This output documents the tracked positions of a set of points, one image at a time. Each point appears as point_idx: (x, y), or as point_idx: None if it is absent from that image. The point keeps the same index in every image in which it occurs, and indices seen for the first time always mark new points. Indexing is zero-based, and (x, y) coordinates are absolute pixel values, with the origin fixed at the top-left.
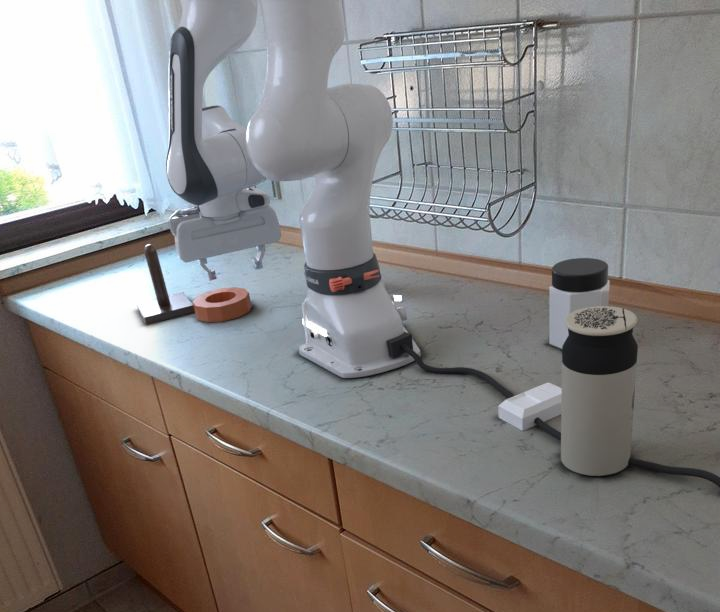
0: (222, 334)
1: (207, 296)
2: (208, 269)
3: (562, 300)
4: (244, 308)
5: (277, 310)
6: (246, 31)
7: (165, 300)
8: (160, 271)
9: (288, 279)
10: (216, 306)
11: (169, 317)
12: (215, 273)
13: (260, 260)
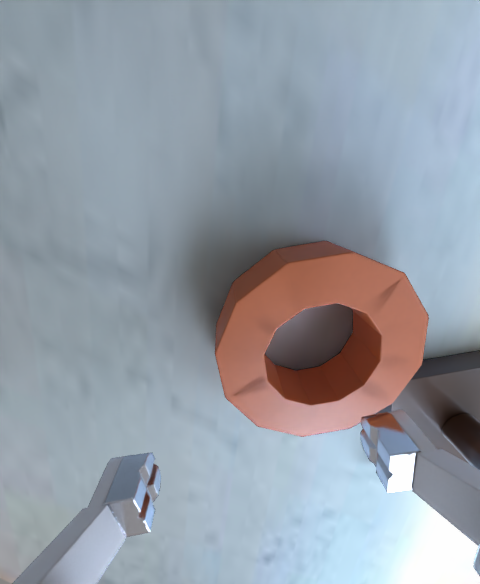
0: (361, 90)
1: (363, 387)
2: (444, 465)
3: None
4: (245, 278)
5: (127, 244)
6: None
7: (471, 428)
8: None
9: (97, 476)
10: (365, 261)
11: (457, 356)
12: (380, 440)
13: (96, 503)
